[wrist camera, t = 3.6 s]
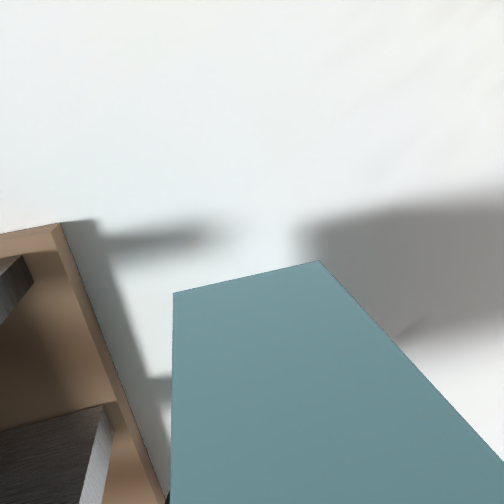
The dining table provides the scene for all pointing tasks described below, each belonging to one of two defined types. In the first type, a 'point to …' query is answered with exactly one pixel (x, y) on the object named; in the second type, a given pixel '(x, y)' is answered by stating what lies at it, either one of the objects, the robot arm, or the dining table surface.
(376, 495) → the workpiece block
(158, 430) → the dining table surface
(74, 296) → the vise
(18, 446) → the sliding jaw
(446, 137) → the dining table surface
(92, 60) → the dining table surface
